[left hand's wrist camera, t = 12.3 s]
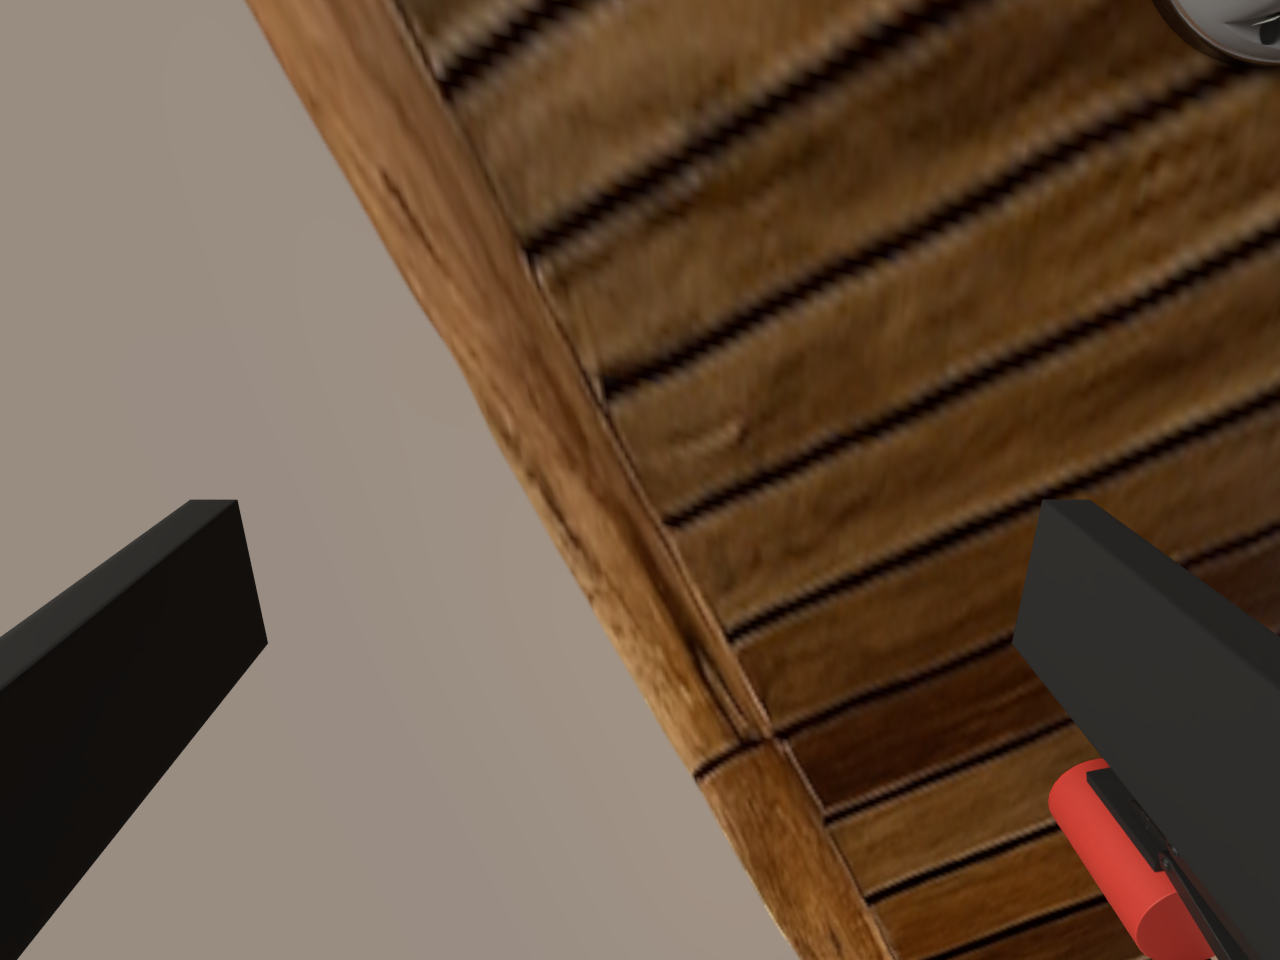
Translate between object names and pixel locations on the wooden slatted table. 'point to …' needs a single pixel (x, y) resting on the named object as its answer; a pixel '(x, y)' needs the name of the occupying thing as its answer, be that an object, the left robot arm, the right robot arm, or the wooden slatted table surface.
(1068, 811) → the canister
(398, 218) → the wooden slatted table surface
